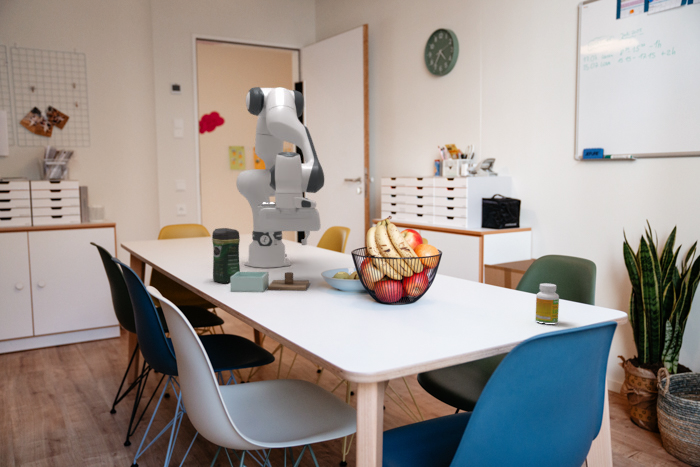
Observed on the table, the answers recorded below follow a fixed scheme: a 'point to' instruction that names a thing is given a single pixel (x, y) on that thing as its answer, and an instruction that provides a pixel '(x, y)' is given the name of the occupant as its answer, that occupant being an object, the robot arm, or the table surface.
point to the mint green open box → (249, 281)
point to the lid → (288, 283)
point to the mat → (292, 290)
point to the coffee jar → (225, 254)
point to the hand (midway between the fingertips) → (289, 245)
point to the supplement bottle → (547, 304)
